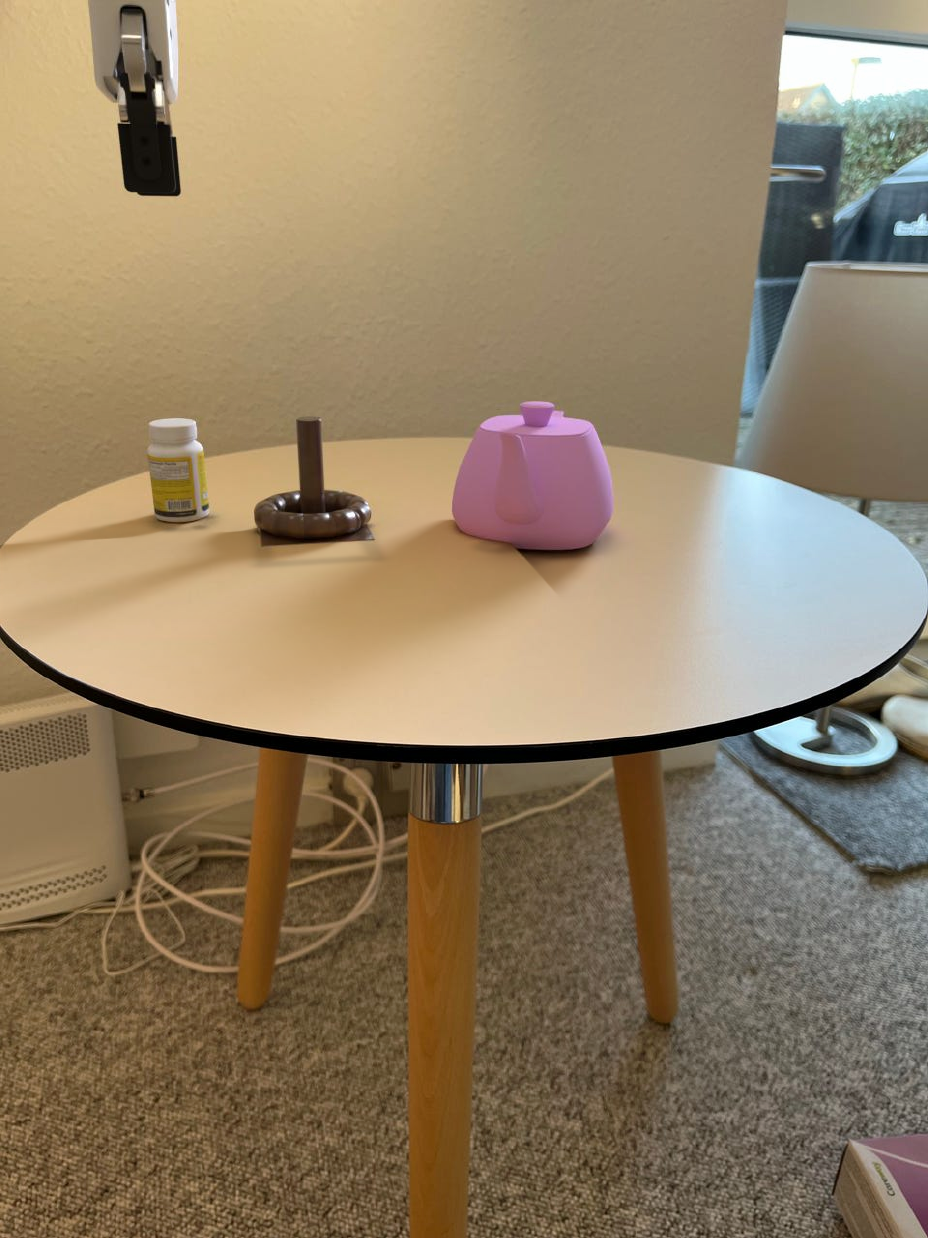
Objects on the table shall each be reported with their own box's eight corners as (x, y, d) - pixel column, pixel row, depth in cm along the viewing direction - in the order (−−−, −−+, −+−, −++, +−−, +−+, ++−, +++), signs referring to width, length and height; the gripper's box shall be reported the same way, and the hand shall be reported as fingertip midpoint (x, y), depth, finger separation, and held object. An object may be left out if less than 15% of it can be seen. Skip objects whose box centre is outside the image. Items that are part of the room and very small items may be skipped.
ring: (256, 544, 77) (254, 520, 76) (253, 512, 86) (252, 489, 85) (377, 538, 79) (377, 514, 78) (363, 506, 88) (362, 485, 87)
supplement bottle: (186, 506, 91) (177, 415, 88) (220, 514, 89) (212, 421, 85) (143, 517, 88) (132, 422, 84) (177, 526, 85) (167, 429, 82)
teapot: (420, 564, 76) (419, 421, 72) (483, 500, 94) (485, 382, 90) (592, 581, 73) (601, 432, 69) (623, 511, 91) (632, 389, 87)
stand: (262, 558, 77) (253, 431, 74) (257, 526, 85) (249, 410, 82) (375, 551, 79) (372, 427, 75) (360, 520, 87) (357, 407, 84)
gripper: (80, -69, 69) (111, 196, 76) (40, -153, 54) (82, 189, 60) (190, -61, 71) (211, 197, 77) (182, -141, 55) (209, 191, 62)
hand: (155, 193), depth 69 cm, fingers open, 9 cm apart
